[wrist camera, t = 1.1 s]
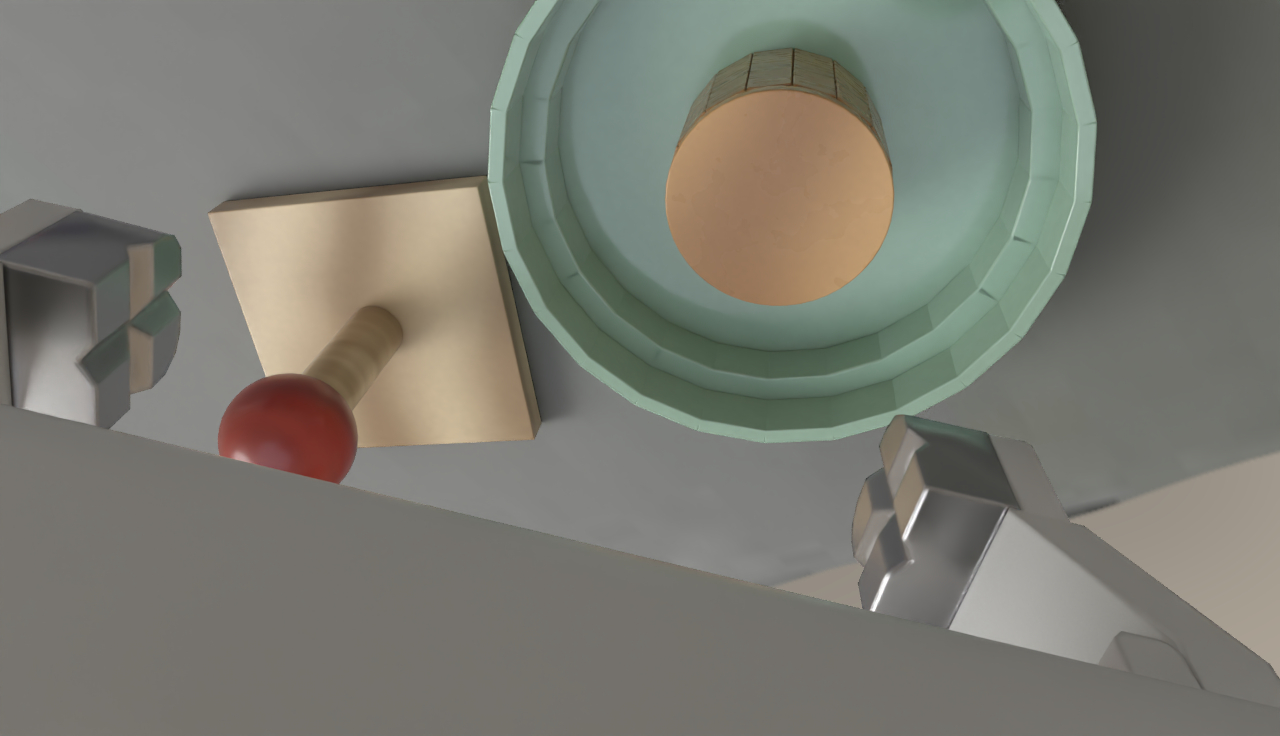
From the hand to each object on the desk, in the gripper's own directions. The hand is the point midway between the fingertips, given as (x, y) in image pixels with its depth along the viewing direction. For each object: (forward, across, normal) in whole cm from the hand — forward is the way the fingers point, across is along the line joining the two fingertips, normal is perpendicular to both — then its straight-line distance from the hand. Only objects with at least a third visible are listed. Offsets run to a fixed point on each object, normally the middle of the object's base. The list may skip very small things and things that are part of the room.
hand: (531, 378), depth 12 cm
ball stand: (+24, +7, +13) cm, 28 cm away
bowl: (+23, -5, +2) cm, 24 cm away
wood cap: (+22, -5, +2) cm, 23 cm away
